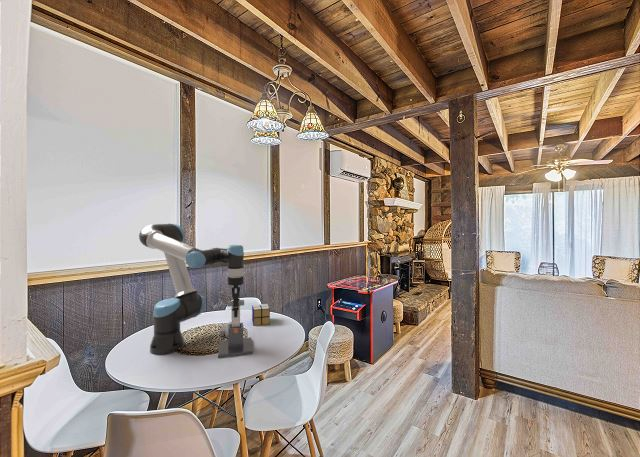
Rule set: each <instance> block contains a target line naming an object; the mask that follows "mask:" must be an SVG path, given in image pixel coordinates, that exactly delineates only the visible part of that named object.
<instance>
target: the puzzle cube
mask: <svg viewBox="0 0 640 457" xmlns="http://www.w3.org/2000/svg"><path fill="white" fill-rule="evenodd" d="M251 306H252V307H251V308H252V309H251V321H252V325H253V327H255V326H256V327H257V326H266V325H270V323H271V316H270V315H271V307H270V306H269V304H268V303H263V304H262V303H261V304H252V305H251Z"/></svg>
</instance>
